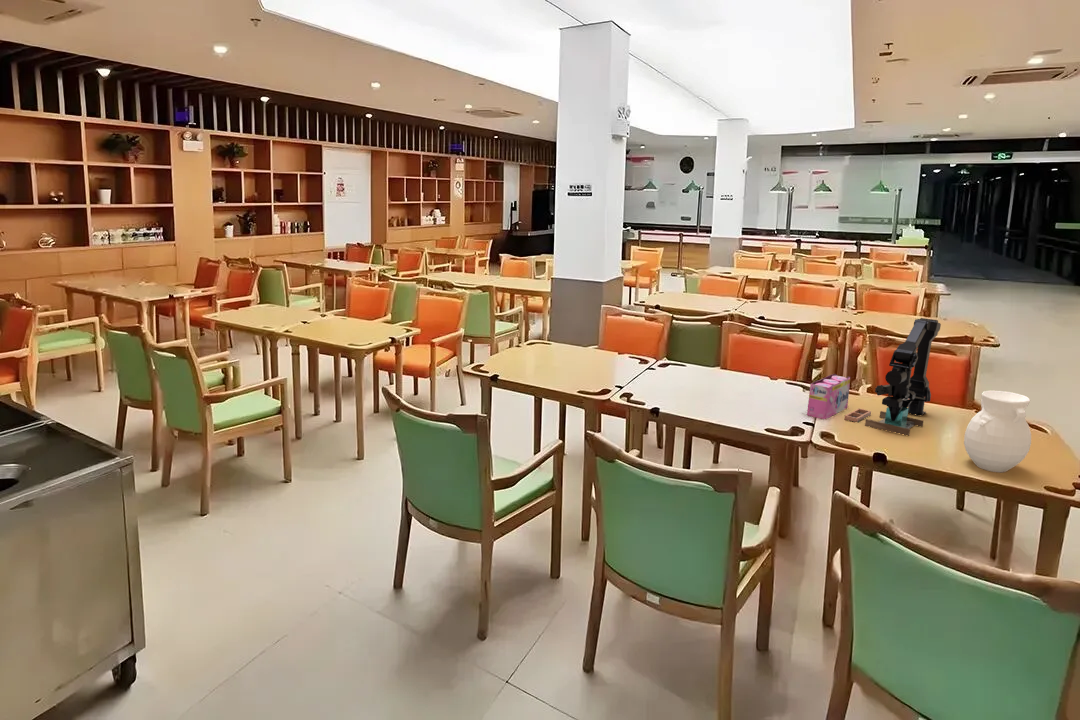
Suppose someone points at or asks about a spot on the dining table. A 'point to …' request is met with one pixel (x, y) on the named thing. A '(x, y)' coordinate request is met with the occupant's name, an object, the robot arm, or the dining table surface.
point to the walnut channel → (892, 427)
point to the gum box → (828, 396)
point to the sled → (898, 419)
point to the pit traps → (857, 415)
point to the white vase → (999, 431)
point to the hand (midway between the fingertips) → (896, 419)
